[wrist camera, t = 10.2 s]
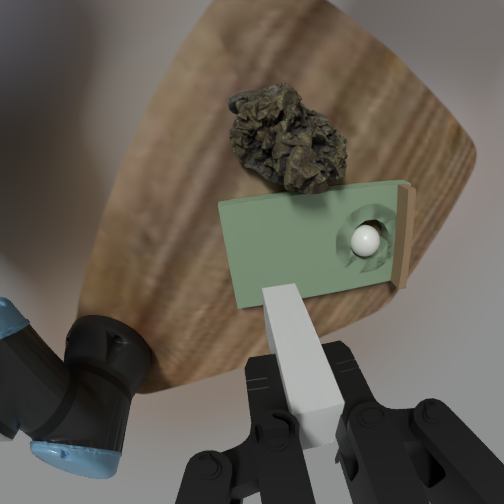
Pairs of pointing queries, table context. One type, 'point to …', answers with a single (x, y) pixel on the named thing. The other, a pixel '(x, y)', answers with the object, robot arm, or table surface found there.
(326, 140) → the rock
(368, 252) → the ball
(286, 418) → the robot arm
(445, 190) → the table surface
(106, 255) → the table surface
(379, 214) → the green
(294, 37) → the table surface
